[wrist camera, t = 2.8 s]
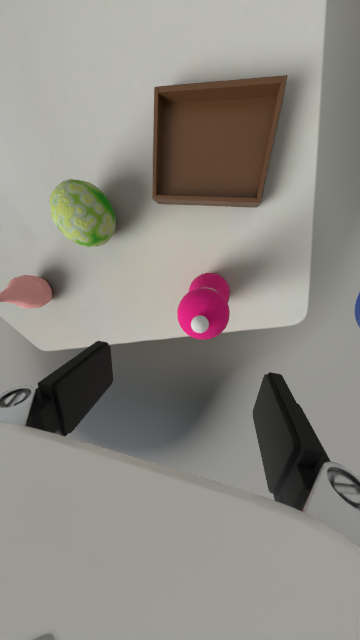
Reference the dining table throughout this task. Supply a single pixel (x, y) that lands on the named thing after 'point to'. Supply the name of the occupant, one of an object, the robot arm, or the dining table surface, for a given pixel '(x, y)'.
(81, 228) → the decorative ball
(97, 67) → the dining table surface
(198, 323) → the pepper mill
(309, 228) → the dining table surface
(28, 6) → the dining table surface
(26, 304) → the pink bulb vase
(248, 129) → the tray
